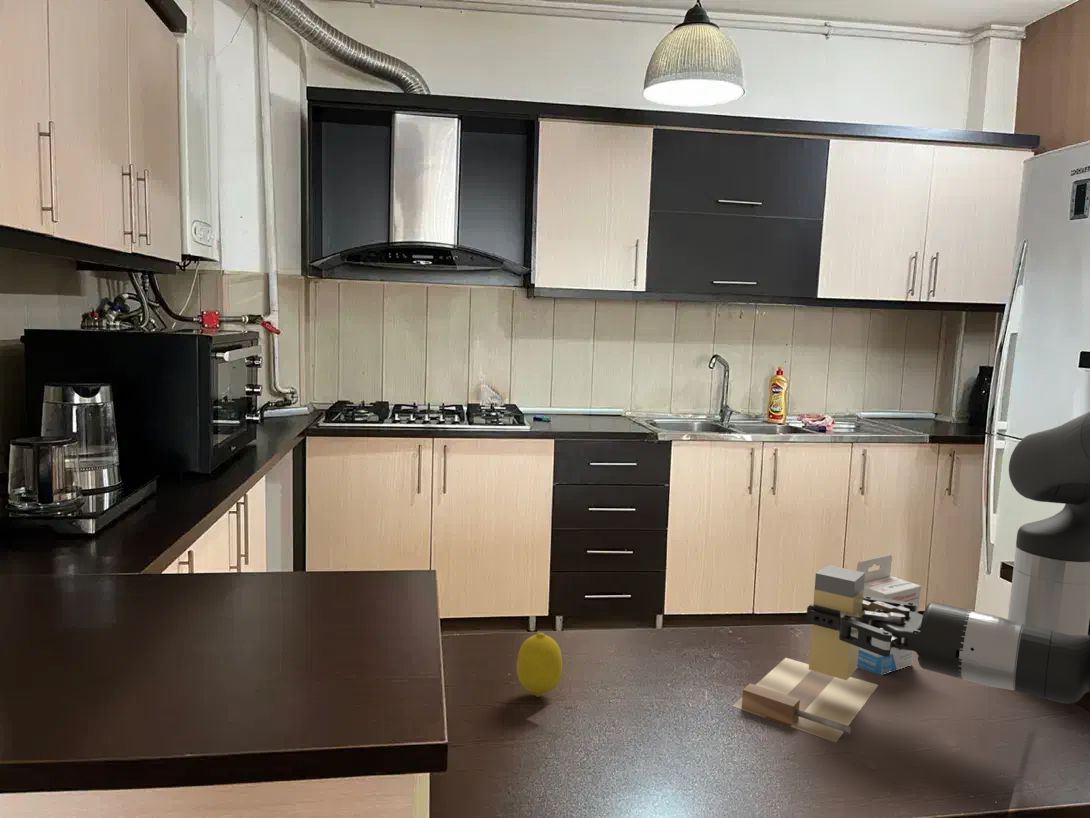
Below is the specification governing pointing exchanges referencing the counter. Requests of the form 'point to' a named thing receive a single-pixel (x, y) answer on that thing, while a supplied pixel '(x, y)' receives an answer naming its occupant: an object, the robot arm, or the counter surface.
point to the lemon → (539, 664)
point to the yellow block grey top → (826, 648)
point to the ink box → (886, 588)
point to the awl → (781, 707)
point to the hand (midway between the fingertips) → (815, 607)
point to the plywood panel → (817, 696)
